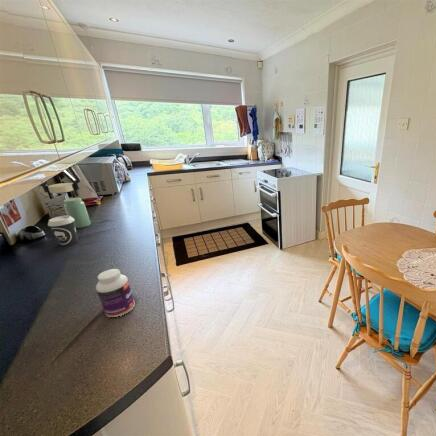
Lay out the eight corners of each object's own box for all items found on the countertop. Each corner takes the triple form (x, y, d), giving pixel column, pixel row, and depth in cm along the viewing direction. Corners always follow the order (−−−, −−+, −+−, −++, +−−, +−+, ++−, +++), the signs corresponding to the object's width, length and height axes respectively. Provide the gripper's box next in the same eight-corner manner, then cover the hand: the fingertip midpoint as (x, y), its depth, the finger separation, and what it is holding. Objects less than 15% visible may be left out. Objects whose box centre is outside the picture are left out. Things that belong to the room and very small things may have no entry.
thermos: (67, 228, 137) (57, 201, 130) (79, 222, 145) (70, 197, 139) (83, 228, 137) (74, 201, 131) (94, 222, 145) (86, 197, 139)
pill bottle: (136, 312, 76) (125, 275, 70) (106, 323, 71) (91, 285, 66) (134, 298, 82) (124, 263, 76) (106, 307, 77) (93, 271, 72)
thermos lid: (79, 188, 123) (77, 182, 122) (66, 192, 115) (64, 187, 114) (59, 188, 122) (57, 183, 121) (44, 193, 113) (42, 187, 112)
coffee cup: (84, 245, 117) (74, 218, 112) (59, 252, 111) (47, 223, 105) (81, 239, 123) (71, 213, 118) (56, 246, 116) (45, 218, 111)
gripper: (79, 150, 119) (93, 192, 128) (20, 152, 109) (39, 198, 118) (75, 152, 113) (90, 196, 121) (12, 154, 103) (32, 202, 112)
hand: (65, 197), depth 120 cm, fingers closed on thermos lid, 9 cm apart
